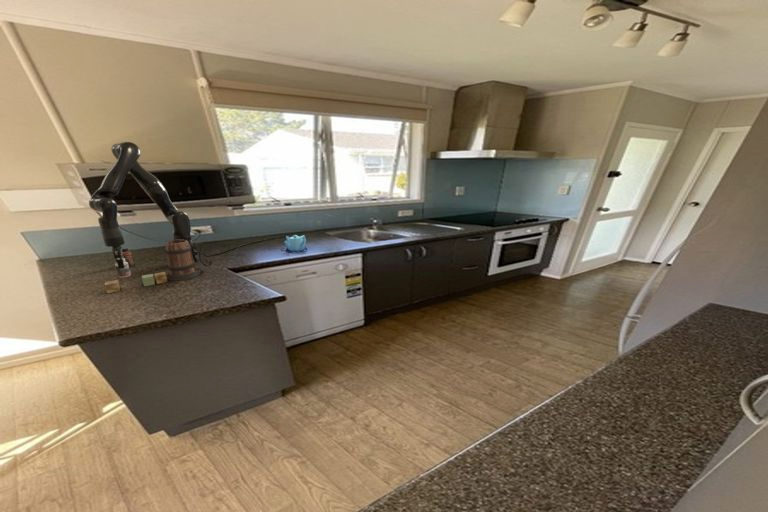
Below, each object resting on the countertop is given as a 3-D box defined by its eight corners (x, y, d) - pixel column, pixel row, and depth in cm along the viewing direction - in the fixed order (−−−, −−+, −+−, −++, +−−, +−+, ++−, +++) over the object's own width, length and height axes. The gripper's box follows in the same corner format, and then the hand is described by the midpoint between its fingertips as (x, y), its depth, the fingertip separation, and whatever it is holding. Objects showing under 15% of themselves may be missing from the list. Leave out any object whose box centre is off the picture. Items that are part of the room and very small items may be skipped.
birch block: (120, 288, 147) (117, 279, 145) (119, 291, 144) (117, 282, 142) (108, 290, 144) (105, 282, 143) (107, 293, 141) (104, 285, 139)
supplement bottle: (126, 267, 174) (121, 250, 170) (118, 266, 175) (113, 249, 171) (136, 264, 180) (131, 247, 176) (128, 263, 181) (124, 246, 177)
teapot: (306, 251, 211) (305, 237, 208) (285, 252, 208) (283, 238, 204) (306, 245, 225) (306, 232, 222) (287, 246, 222) (285, 233, 219)
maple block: (166, 279, 159) (165, 271, 157) (167, 281, 155) (165, 274, 154) (156, 281, 156) (154, 273, 154) (156, 284, 152) (154, 276, 151)
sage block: (154, 281, 155) (152, 273, 154) (155, 284, 152) (153, 276, 151) (144, 283, 153) (141, 275, 151) (144, 286, 149) (141, 278, 148)
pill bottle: (117, 276, 154) (112, 259, 151) (130, 273, 158) (125, 256, 155) (119, 278, 151) (114, 261, 148) (132, 275, 155) (127, 258, 152)
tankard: (167, 282, 154) (159, 247, 148) (164, 273, 166) (156, 240, 160) (216, 272, 169) (210, 240, 163) (209, 265, 181) (204, 234, 174)
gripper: (121, 237, 144) (131, 269, 150) (123, 232, 155) (131, 261, 160) (101, 240, 140) (111, 272, 145) (104, 234, 150) (113, 264, 156)
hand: (122, 266), depth 153 cm, fingers closed on pill bottle, 5 cm apart
